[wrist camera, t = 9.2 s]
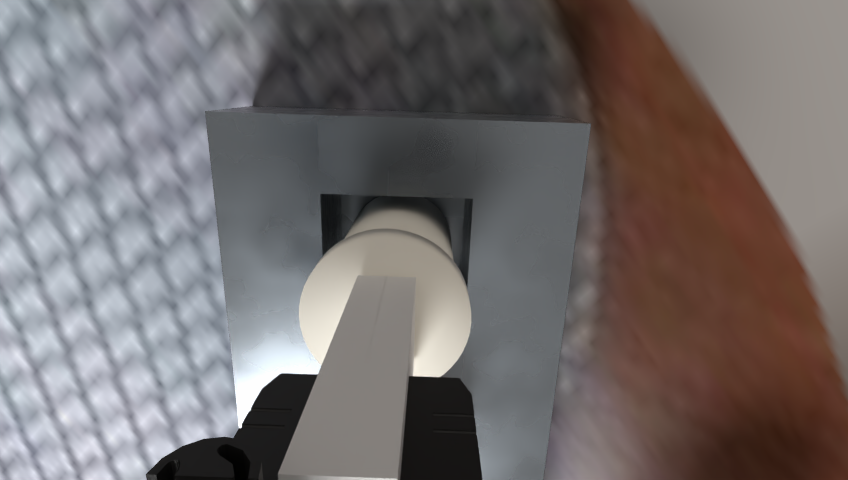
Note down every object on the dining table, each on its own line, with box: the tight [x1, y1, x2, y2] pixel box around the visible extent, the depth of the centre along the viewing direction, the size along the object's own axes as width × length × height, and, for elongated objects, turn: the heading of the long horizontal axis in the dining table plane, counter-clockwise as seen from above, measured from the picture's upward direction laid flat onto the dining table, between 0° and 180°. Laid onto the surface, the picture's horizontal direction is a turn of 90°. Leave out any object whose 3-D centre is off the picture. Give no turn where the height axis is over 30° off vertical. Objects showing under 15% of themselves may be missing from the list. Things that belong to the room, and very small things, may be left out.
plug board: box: [205, 106, 591, 480], centre depth 21 cm, size 12×28×4 cm, turn 178°
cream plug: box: [299, 196, 471, 377], centre depth 16 cm, size 5×5×7 cm
